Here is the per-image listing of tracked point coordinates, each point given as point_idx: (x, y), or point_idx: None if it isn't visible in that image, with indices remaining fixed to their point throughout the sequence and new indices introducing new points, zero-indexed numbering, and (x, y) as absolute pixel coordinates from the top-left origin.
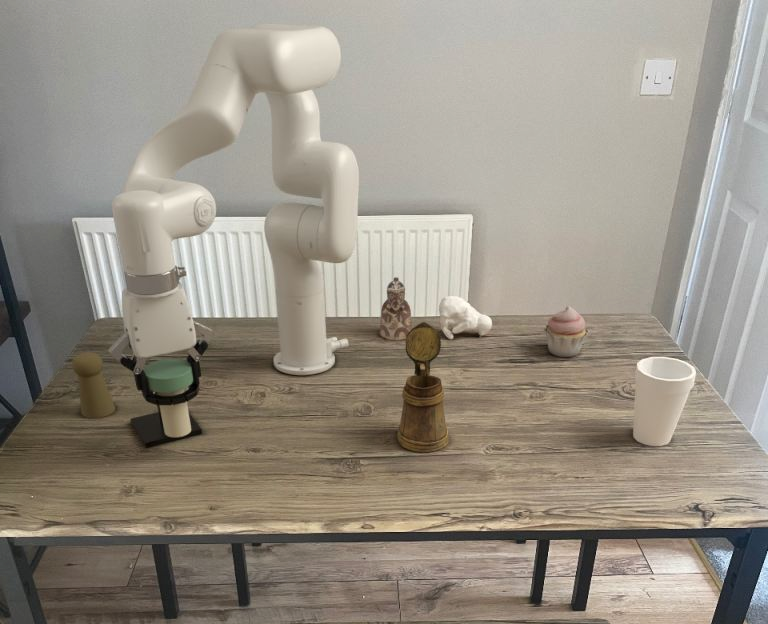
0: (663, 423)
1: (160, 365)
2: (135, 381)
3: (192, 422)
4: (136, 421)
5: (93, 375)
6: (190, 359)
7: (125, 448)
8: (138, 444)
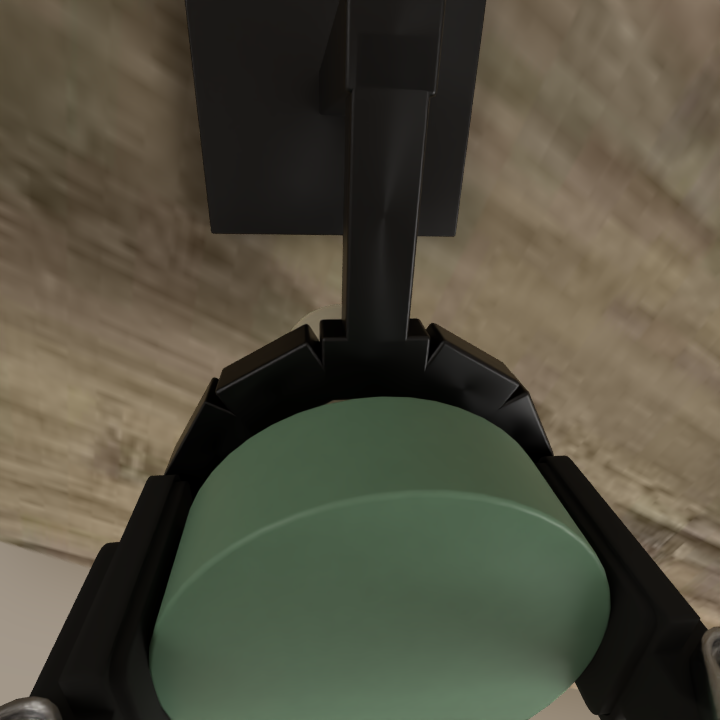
0: None
1: (357, 609)
2: (85, 593)
3: (449, 157)
4: None
5: None
6: (635, 684)
7: (128, 182)
8: (188, 177)
